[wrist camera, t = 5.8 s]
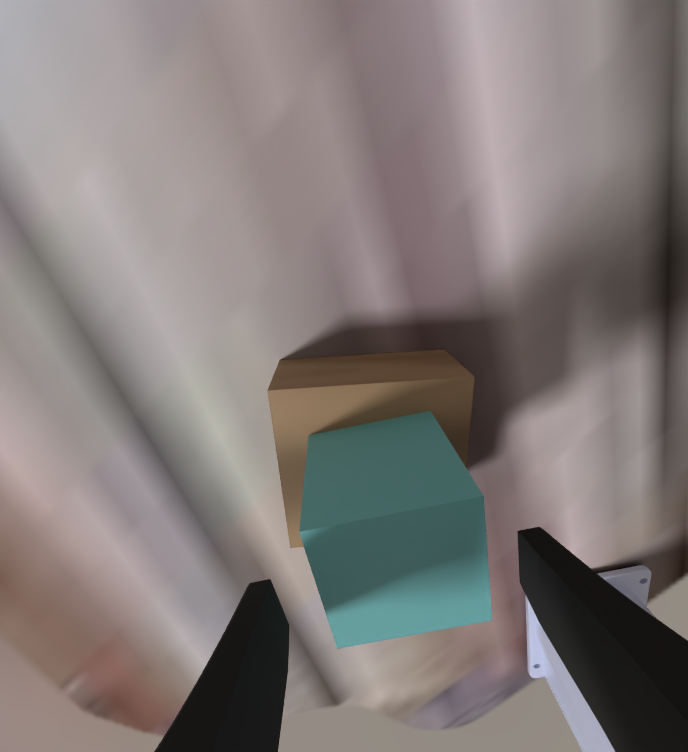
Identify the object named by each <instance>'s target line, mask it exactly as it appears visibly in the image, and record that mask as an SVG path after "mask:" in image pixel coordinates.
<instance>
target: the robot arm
mask: <svg viewBox="0 0 688 752" xmlns="http://www.w3.org/2000/svg"><path fill="white" fill-rule="evenodd" d="M518 550H519V575H520V583H521V586H522V588H523V590H524V592H525V594H526V625H527V657H528V672H529V674H530V676H531V677H533V678H540V677H545V678H546V680H547V682H548V683H549V686H550V688H551V690H552V692H553V694H554V696H555V698H556V700H557V702H558V704H559V706H560V707H561V710H562V712H563V714H564V716H565V717H566V719H567V721H568V723H569V725H570V727H571V729H572V731H573V733H574V735H575V737H576V739H577V741H578V743H579V745H580V747H581V749H582V751H583V752H688V641H687V640H686V639H684V638H683V637H682V636H680V635H679V634H677V633H676V632H675V631H673V630H672V629H670V628H669V627H667V626H666V625H665V624H663V623H662V622H661V621H659V620H657V619H656V617H654V615H653V614H652V613H651V612H650V611H649V609H648V608H647V607H646V606H647V599H648V593H649V586H650V580H651V571H650V570H649V569H648V568H647V567H646V566H644V565H639V566H634V567H629V568H623V569H618V570H613V571H608V572H602V573H596V572H594V571H593V570H592V569H591V568H589V567H588V566H587V565H586V564H584V563H583V562H582V561H581V560H580V559H578V558H577V557H576V556H575V555H573V554H572V553H571V552H570V551H569V550H567V549H566V548H565V547H564V546H563V545H561V544H560V543H559V542H558V541H557V540H555V539H554V538H553V537H552V536H551V535H549V534H548V533H547V532H546V531H545V530H543V529H542V528H540V527H536V528H531V529H525V530H520V531H518ZM288 656H289V624H288V621H287V619H286V616H285V614H284V611H283V609H282V606H281V604H280V602H279V599H278V597H277V594H276V592H275V589H274V587H273V584H272V582H271V580H270V579H268V580H263V581H258V582H253V583H250V584H249V585H248V587H247V589H246V591H245V593H244V595H243V597H242V599H241V601H240V603H239V604H238V606H237V608H236V610H235V612H234V614H233V616H232V618H231V620H230V622H229V624H228V626H227V628H226V630H225V632H224V634H223V635H222V637H221V639H220V641H219V643H218V645H217V647H216V648H215V650H214V652H213V654H212V656H211V658H210V659H209V661H208V663H207V665H206V667H205V669H204V670H203V672H202V674H201V676H200V677H199V679H198V681H197V683H196V684H195V686H194V688H193V689H192V691H191V693H190V695H189V696H188V698H187V700H186V701H185V703H184V705H183V706H182V708H181V710H180V711H179V713H178V715H177V716H176V718H175V720H174V721H173V723H172V725H171V726H170V728H169V729H168V731H167V733H166V734H165V736H164V737H163V739H162V741H161V742H160V744H159V745H158V747H157V749H156V750H155V752H278V746H279V738H280V730H281V722H282V714H283V706H284V698H285V690H286V682H287V673H288Z"/></svg>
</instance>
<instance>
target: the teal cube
mask: <svg viewBox="0 0 688 752" xmlns="http://www.w3.org/2000/svg"><path fill="white" fill-rule="evenodd" d="M299 533H300V536H301V539H302V542H303V545H304V548H305V551H306V554H307V557H308V560H309V564H310V567H311V570H312V573H313V576H314V579H315V582H316V585H317V588H318V591H319V594H320V597H321V600H322V603H323V606H324V609H325V612H326V615H327V618H328V621H329V624H330V627H331V630H332V633H333V636H334V639H335V642H336V645H337V648H343V647H349V646H354V645H360V644H365V643H371V642H376V641H382V640H387V639H393V638H398V637H404V636H409V635H414V634H420V633H425V632H431V631H436V630H442V629H447V628H453V627H458V626H464V625H469V624H475V623H480V622H486V621H491V620H492V612H491V597H490V582H489V568H488V553H487V538H486V523H485V509H484V496H483V494H482V493H481V491H480V489H479V488H478V486H477V485H476V483H475V481H474V480H473V478H472V477H471V475H470V473H469V472H468V470H467V469H466V467H465V465H464V464H463V462H462V461H461V459H460V457H459V456H458V454H457V452H456V451H455V449H454V448H453V446H452V444H451V443H450V441H449V440H448V438H447V436H446V435H445V433H444V432H443V430H442V428H441V427H440V425H439V424H438V422H437V420H436V419H435V417H434V415H433V414H432V412H431V411H426V412H421V413H416V414H411V415H406V416H402V417H397V418H392V419H387V420H382V421H377V422H372V423H367V424H362V425H357V426H352V427H347V428H342V429H337V430H332V431H327V432H322V433H318V434H313V435H309V436H308V446H307V456H306V466H305V477H304V487H303V497H302V507H301V518H300V528H299Z"/></svg>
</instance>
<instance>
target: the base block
mask: <svg viewBox="0 0 688 752" xmlns="http://www.w3.org/2000/svg"><path fill="white" fill-rule="evenodd" d="M474 380H475V376H474V375H472V374H471V373H470V372H469V371H468V370H467V369H466V368H465V367H463V366H462V365H461V364H460V363H459V362H458V361H457V360H456V359H455V358H453V357H452V356H451V355H450V354H449V353H448V352H447V351H446V350H445V349H443V350H427V351H411V352H396V353H380V354H365V355H349V356H333V357H318V358H302V359H287V360H280V361H279V363H278V366H277V368H276V371H275V373H274V376H273V378H272V381H271V383H270V386H269V388H268V397H269V404H270V411H271V418H272V425H273V431H274V438H275V445H276V452H277V459H278V466H279V473H280V479H281V486H282V493H283V500H284V507H285V514H286V521H287V527H288V534H289V541H290V548H294V547H304V545H303V542H302V539H301V536H300V533H299V528H300V518H301V507H302V497H303V487H304V477H305V466H306V456H307V446H308V436H309V435H313V434H318V433H322V432H327V431H332V430H337V429H342V428H347V427H352V426H357V425H362V424H367V423H372V422H377V421H382V420H387V419H392V418H397V417H402V416H406V415H411V414H416V413H421V412H426V411H431V412H432V414H433V415H434V417H435V419H436V420H437V422H438V424H439V425H440V427H441V428H442V430H443V432H444V433H445V435H446V436H447V438H448V440H449V441H450V443H451V444H452V446H453V448H454V449H455V451H456V452H457V454H458V456H459V457H460V459H461V461H462V462H463V464H464V465H465V467H466V468H467V457H468V446H469V435H470V424H471V413H472V402H473V391H474Z"/></svg>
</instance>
